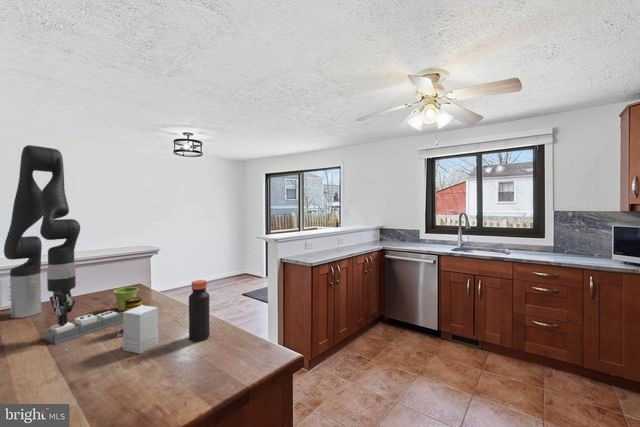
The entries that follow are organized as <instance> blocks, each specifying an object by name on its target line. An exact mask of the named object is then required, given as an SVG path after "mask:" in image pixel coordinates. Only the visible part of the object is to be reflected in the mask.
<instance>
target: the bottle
mask: <svg viewBox="0 0 640 427" xmlns="http://www.w3.org/2000/svg"><path fill="white" fill-rule="evenodd" d="M207 285H208V283H207V280H206V279H198V280H194V281H192V282H191V291H192V293H190V295H189V296H188V339H189V341H191V342H201V340H202V341H205V340H207V339H208V338H209V337H210V294H209V292H207V291H206V290H207V288H208V286H207Z"/></svg>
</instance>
